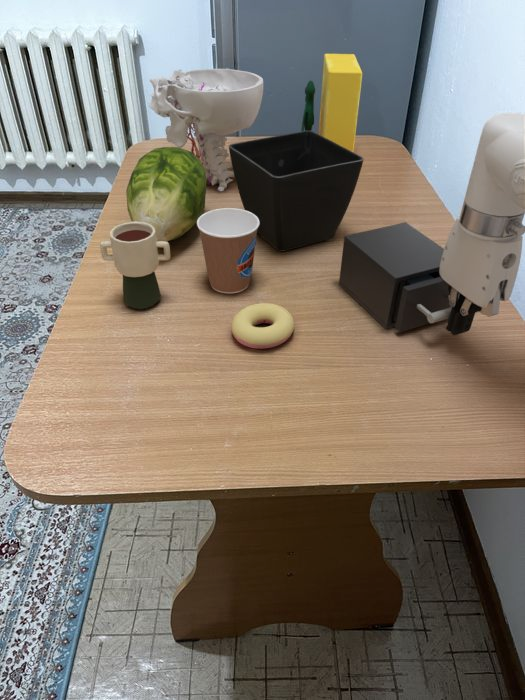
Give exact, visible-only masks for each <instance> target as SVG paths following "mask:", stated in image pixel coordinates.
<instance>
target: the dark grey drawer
mask: <svg viewBox="0 0 525 700" xmlns="http://www.w3.org/2000/svg"><path fill="white" fill-rule="evenodd" d="M429 275H431V276H432V277H433V278H434V279H430V280H427V281H423V282H419V283H415V284H412V285H408V286H405V281H404V280H403V281H399V284H398V289H397V294H396V300H395V305H394V310H393V315H392V320H393V321H396V324H395V327H394V330H396V331H397V332H398V333H403V332H405V331H409V330H413V329H415V328H419V327H422V326H426V325H429V324H435V323H438V322H441V321H445V320H449V316H450V313H451V309H452V307H451V306H450V304H449V300H450V294H449V290H448V287H447V286H446V285H445V284H444V283H443V282H442V280H441V276H440V273H439V271H437V272H433V273H430V274H429Z"/></svg>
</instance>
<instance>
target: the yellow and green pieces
mask: <svg viewBox="0 0 525 700" xmlns="http://www.w3.org/2000/svg"><path fill="white" fill-rule="evenodd" d="M322 67H323V68H322V80H321V81H322V82H321V97H320V108H319V123H318V134H319V135H321V136H323V137H325V138H327V139H329V140H331V141H332V142H334V143H336V144H338V145H340V146H342V147H344V148H346V149H348V150H350V151H352V152H354V151H355V142H356V135H357V134H356V133H357V124H358V115H359V106H360V98H361V89H362V79H363V71H362V69H361V66H360V64H359V62H358V60H357V57H356V55H355V54H354V53H324V54H323V66H322ZM304 94H305V96H304V97H305V98H304V101H305V104H304V110H303V114H302V115H303V116H302V122H301V130H300V132H301V131H313V130H312V129H313V126H314V124H315V111H314V110H315V94H316V87H315V84H314V81H313V80H309V81H308V82H307V84H306V86H305V87H304Z"/></svg>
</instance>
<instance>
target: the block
mask: <svg viewBox="0 0 525 700" xmlns="http://www.w3.org/2000/svg"><path fill="white" fill-rule="evenodd" d="M430 279H434V278H433V277H432V276H431V275H429V274H426V275H422V276H418V277H414V278H411V279H407V280H404V281H405V286H408V285H412V284H415V283H419V282H423V281H427V280H430Z"/></svg>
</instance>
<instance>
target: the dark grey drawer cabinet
mask: <svg viewBox="0 0 525 700" xmlns="http://www.w3.org/2000/svg"><path fill="white" fill-rule="evenodd" d="M444 248H445V247H442V246H441V245H439V244H438V243H437V242H436V241H434V240H432V239H431V238H429V237H428V236H426V235H425V234H423V232H421V231H420V230H418V229H417V228H415V227H414V226H412V225H411V224H409V223H408V222H401V223H396V224H391V225H386V226H383V227H378V228H374V229H369V230H365V231H359V232H355V233H352V234H346V235H344V237H343V245H342V255H341V262H340V263H341V265H340V271H339V281H338V285H339V286H340V287H341V288H342V289H343V291H345V292H346V293H347V294H348V295H349V296H350V297H351V298H352V299H354V301H356V302H357V303H358V305H360V307H362V308H363V310H365V311H366V312H367V313H368V314H369V315H370V316H371V317H373V319H374V320H375V321H377V322H378V324H380V325H381V327H383V328H384V330H388V329H392V328H395V324H396V321H393V320H392V315H393V310H394V305H395V300H396V294H397V289H398V284H399V281H403V280H407V279H411V278H414V277H418V276H422V275H426V274H430V273H433V272H437V271H439V269H440V263H441V258H442V255H443V251H444Z"/></svg>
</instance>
